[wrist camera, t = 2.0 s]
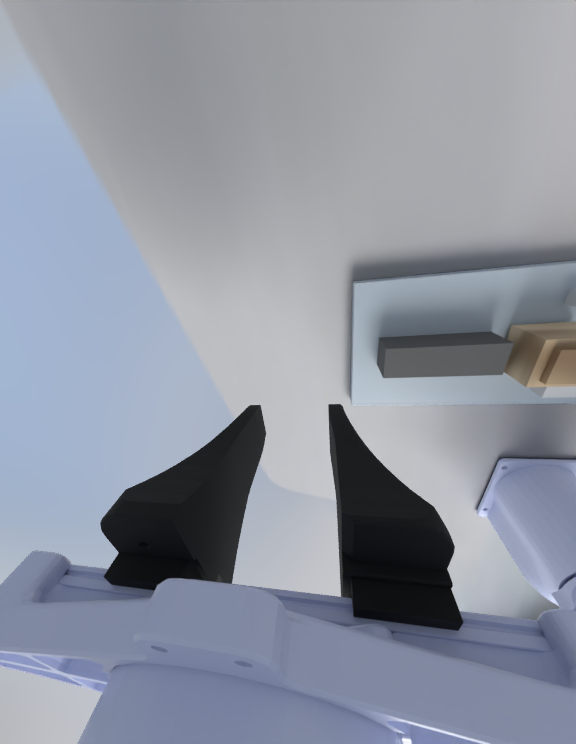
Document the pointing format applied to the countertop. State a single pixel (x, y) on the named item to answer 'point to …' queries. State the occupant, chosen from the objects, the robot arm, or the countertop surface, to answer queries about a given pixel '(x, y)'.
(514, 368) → the slider block
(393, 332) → the channel
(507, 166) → the countertop surface
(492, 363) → the bar
